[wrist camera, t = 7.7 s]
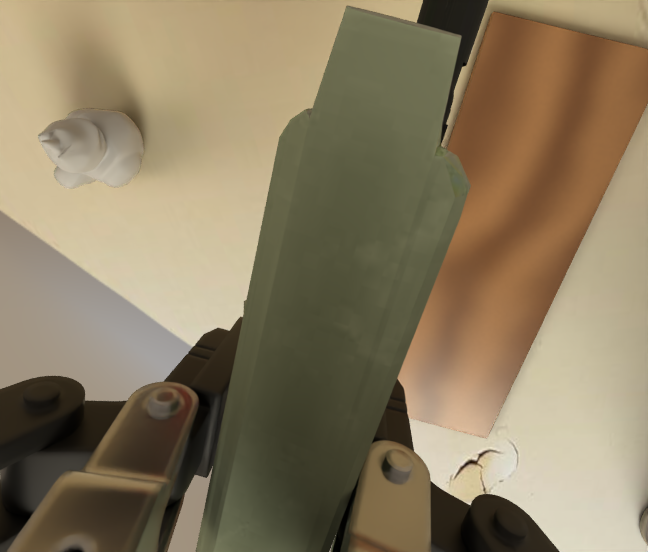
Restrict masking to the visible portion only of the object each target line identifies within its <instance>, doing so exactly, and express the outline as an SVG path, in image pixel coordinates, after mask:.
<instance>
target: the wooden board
mask: <svg viewBox="0 0 648 552" xmlns="http://www.w3.org/2000/svg"><path fill="white" fill-rule="evenodd" d="M647 104H648V49H645V48H641V47H637V46H633V45H629V44H625V43H621V42H617V41H613V40H609V39H605V38H600V37H596V36H592V35H588V34H584V33H580V32H576V31H572V30H568V29H564V28H560V27H556V26H551V25H547V24H543V23H539V22H535V21H531V20H527V19H523V18H519V17H515V16H511V15H507V14H502V13H498V12H493V13H492V14H491V16H490V19H489V22H488V25H487V28H486V31H485V34H484V37H483V40H482V43H481V46H480V49H479V52H478V55H477V58H476V61H475V64H474V67H473V70H472V73H471V76H470V79H469V82H468V86H467V89H466V92H465V95H464V98H463V101H462V104H461V107H460V110H459V113H458V116H457V119H456V122H455V125H454V128H453V131H452V134H451V137H450V140H449V143H448V146H447V150H448V151H450V152H452V153H453V154H455V155H457V156H458V157H459V160H460V162H461V164H462V166H463V169H464V171H465V173H466V176H467V178H468V180H469V182H470V185H471V187H470V190H469V192H468V194H467V198H466V201H465V204H464V208H463V211H462V214H461V217H460V220H459V223H458V225H457V228H456V230H455V233H454V235H453V238H452V240H451V243H450V245H449V248H448V250H447V253H446V256H445V258H444V261H443V263H442V266H441V268H440V271H439V273H438V276H437V278H436V281H435V284H434V286H433V289H432V291H431V294H430V296H429V299H428V301H427V304H426V306H425V309H424V311H423V314H422V317H421V319H420V322H419V324H418V327H417V329H416V332H415V334H414V337H413V339H412V342H411V345H410V347H409V350H408V352H407V355H406V357H405V360H404V362H403V365H402V367H401V370H400V373H399V375H398V378H397V379H398V380H399V382H400V383H401V385H402V386H403V387H404V392H405V398H406V402H405V403H406V404H407V414H408V417H409V418H411V419H415V420H419V421H422V422H426V423H430V424H434V425H438V426H441V427H445V428H449V429H453V430H456V431H460V432H464V433H468V434H471V435H475V436H479V437H483V438H487V437H488V435H489V433H490V431H491V429H492V427H493V425H494V422H495V420H496V418H497V416H498V414H499V412H500V410H501V408H502V406H503V404H504V402H505V400H506V397H507V395H508V393H509V391H510V389H511V387H512V385H513V383H514V381H515V379H516V377H517V375H518V372H519V370H520V368H521V366H522V364H523V362H524V360H525V358H526V356H527V354H528V352H529V350H530V347H531V345H532V343H533V341H534V339H535V337H536V335H537V333H538V331H539V329H540V327H541V325H542V322H543V320H544V318H545V316H546V314H547V312H548V310H549V308H550V306H551V304H552V302H553V300H554V297H555V295H556V293H557V291H558V289H559V287H560V285H561V283H562V281H563V279H564V277H565V275H566V272H567V270H568V268H569V266H570V264H571V262H572V260H573V258H574V256H575V254H576V252H577V250H578V247H579V245H580V243H581V241H582V239H583V237H584V235H585V233H586V231H587V229H588V227H589V225H590V222H591V220H592V218H593V216H594V214H595V212H596V210H597V208H598V206H599V204H600V202H601V200H602V197H603V195H604V193H605V191H606V189H607V187H608V185H609V183H610V181H611V179H612V177H613V174H614V172H615V170H616V168H617V166H618V164H619V162H620V160H621V158H622V156H623V154H624V152H625V149H626V147H627V145H628V143H629V141H630V139H631V137H632V135H633V133H634V131H635V129H636V127H637V124H638V122H639V120H640V118H641V116H642V114H643V112H644V110H645V108H646V106H647Z"/></svg>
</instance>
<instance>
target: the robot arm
mask: <svg viewBox="0 0 648 552" xmlns="http://www.w3.org/2000/svg"><path fill="white" fill-rule="evenodd" d="M242 320H243V317H240V318H239V319H238V320H237V322H236V323H235V324H234V326H233V327H232V328H231V330H230V331H228V330H224V329H221V328H217V329H214V330H212V331H210V332H208V333H206V334H204V335H203V336H202V337H201V338H200V340H199V341H198V342H197V343H196V345H195V346H194V347H193V348H192V349H191V350H190V351H189V353H188V354H187V355H186V356H185V357H184V358H183V359H182V361H181V362H180V363H179V364H178V365H177V366H176V368H175V369H174V370H173V371H172V372H171V373H170V375H169V376H168V377H167V378H166V379H165V381H164V382H157V383H152V384H148V385H145V386H143V387H141V388H140V389H138V390H136V391H135V392H134V393H133V394H132V395H131V396H130V398H129V399H128V400H127V401H115V402H114V401H85V390H84V388H83V386H82V385H81V384H80V383H79V382H77V381H75V380H73V379H71V378H67V377H61V376H44V377H37V378H32V379H29V380H26V381H22V382H20V383H17V384H14V385H11V386H8V387H6V388H3V389H0V552H167V551H168V548H169V544H170V541H171V538H172V535H173V532H174V529H175V526H176V523H177V519H178V516H179V514H180V510H181V507H182V504H183V500H184V495H185V492H186V490H187V489H188V487H189V485H190V483H191V481H192V479H193V477H194V475H199V476H203V477H206V478H207V477H208V475H209V473H210V471H211V468H212V466H213V464H214V459H215V454H216V449H217V444H218V439H219V434H220V429H221V424H222V419H223V414H224V409H225V404H226V400H227V395H228V390H229V385H230V380H231V375H232V370H233V365H234V360H235V355H236V350H237V345H238V340H239V335H240V330H241V325H242ZM405 402H406V398H405V392H404V387H403V386H402V385H401V383H400V382H399V380H398V379H397V380H396V383H395V385H394V388H393V390H392V393H391V395H390V398H389V400H388V403H387V406H386V408H385V411H384V413H383V416H382V418H381V421H380V423H379V426H378V428H377V431H376V434H375V436H374V439H373V441H372V444H371V446H370V449H369V451H368V454H367V456H366V459H365V461H364V464H363V467H362V469H361V472H360V474H359V477H358V479H357V482H356V484H355V487H354V489H353V492H352V495H351V497H350V500H349V502H348V505H347V507H346V510H345V512H344V515H343V517H342V520H341V523H340V525H339V528H338V530H337V533H336V536H335V539H334V542H333V544H332V548H331V552H559V550H558V549H557V548H556V547H555V546H554V544H553V543H552V542H551V541H550V540H549V538H548V537H547V536H546V535H545V534H544V532H543V531H542V530H541V529H540V528H539V526H538V525H537V524H536V523H535V522H534V520H533V519H532V518H531V517H530V516H529V515H528V514H527V513H526V512H525V511H523V510H522V509H521V508H520V507H518V506H517V505H515V504H514V503H512V502H511V501H509V500H507V499H505V498H502V497H500V496H496V495H492V494H483V495H479V496H477V497H476V498H475V499H474V500H473V501H472V503H471V505H468V504H467V503H465V502H463V501H461V500H459V499H457V498H456V497H454V496H452V495H450V494H448V493H447V492H445V491H443V490H442V489H440V488H439V487H437V486H436V485H435V484H434V483H432V482H431V481H430V473H429V470H428V468H427V466H426V464H425V463H424V461H423V460H422V459H421V458H420V457H419V456H418V455H417V454H416V453H415V452H414V448H413V442H412V436H411V430H410V423H409V417H408V414H407V404H406V403H405ZM640 531H641V535H642V537H643V539H644V541H645V542H646V544H647V545H648V507H647V508H646V510H645V511H644V513H643V515H642V518H641V522H640Z"/></svg>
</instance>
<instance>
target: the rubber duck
mask: <svg viewBox="0 0 648 552" xmlns="http://www.w3.org/2000/svg"><path fill="white" fill-rule="evenodd" d="M38 138H39V141H40V143H41V145H42V147H43V149H44V151H45V153H46V154H47V156H48V157H49V158H50V159H51V160H52V162H53V163H54V164H56V165H57V167H56V168H55V170H54V176H55V178H56V180H57V181H58V183H59V184H60V185H62V186H63V187H65V188H68V189H74V188H77V187H80V186H82V185H84V184H88V183H92V182H94V181H96V180H97V181H99V182H102V183H105V184H106V185H108V186H111V187H121V186H124V185H127V184H128V183H129V182H130V181H131V180H132V179H133V178H134V177H135V176H136V175H137V174H138V172H139V170H140V167H141V158H142V156H143V154H144V145H143V140H142V136H141V133H140V130H139V129H138V127H137V126H136V125H135V123H134V122H133V121H132V120H131V119H130V118H129V117H128V116H127V115H126V114H124V113H123V112H120V111H112V110H101V109H94V108H86V109H79V110H75V111H72V112H71V113H69V114H68V115H67V117H66V118H65V119H64V120H59V121H55V122H53V123H51V124H50V125H49V126H48V127H47V128H46V129H45V130H44V131H43V132H42V133H40V134H39V135H38Z"/></svg>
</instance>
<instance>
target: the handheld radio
mask: <svg viewBox="0 0 648 552" xmlns="http://www.w3.org/2000/svg"><path fill="white" fill-rule="evenodd" d="M488 1H489V0H423V3H422V7H421V10H420V13H419V17H418V20H417V23H415V22H411V21H407V20H403V19H400V18H396V17H392V16H388V15H384V14H380V13H377V12H373V11H368V10H364V9H360V8H355V7H351V6H347V7H346V10H345V13H344V16H343V19H342V22H341V25H340V28H339V31H338V34H337V37H336V40H335V43H334V46H333V49H332V52H331V55H330V58H329V61H328V64H327V67H326V70H325V73H324V76H323V79H322V82H321V85H320V88H319V91H318V94H317V97H316V100H315V103H314V106H313V108H312V109H306V110H304V111H303V112H301V113H300V114H298V115H297V116H295V117H294V118H292V119H291V120H290V121H289V123H288V125H287V126H286V128H285V129H284V131H283V133H282V134H281V136H280V137H279V142H278V147H277V152H276V157H275V162H274V167H273V172H272V177H271V182H270V187H269V192H268V197H267V202H266V207H265V212H264V217H263V221H262V226H261V231H260V236H259V241H258V246H257V251H256V256H255V261H254V266H253V271H252V276H251V281H250V286H249V291H248V296H247V300H245V301H244V315H243V320H242V325H241V330H240V335H239V340H238V345H237V350H236V355H235V360H234V365H233V370H232V375H231V380H230V385H229V390H228V395H227V400H226V404H225V409H224V414H223V419H222V424H221V429H220V434H219V439H218V444H217V449H216V454H215V459H214V464H213V469H212V474H211V479H210V484H209V489H208V494H207V498H206V503H205V509H204V513H203V518H202V523H201V528H200V533H199V538H198V543H197V548H196V552H329V550H330V548H331V545H332V543H333V540H334V538H335V535H336V533H337V530H338V528H339V525H340V523H341V520H342V517H343V515H344V512H345V510H346V507H347V505H348V502H349V500H350V497H351V495H352V492H353V489H354V487H355V484H356V482H357V479H358V477H359V474H360V472H361V469H362V467H363V464H364V461H365V459H366V456H367V454H368V451H369V449H370V446H371V444H372V441H373V439H374V436H375V434H376V431H377V428H378V426H379V423H380V421H381V418H382V416H383V413H384V411H385V408H386V406H387V403H388V400H389V398H390V395H391V393H392V390H393V388H394V385H395V383H396V380H397V378H398V375H399V373H400V370H401V367H402V365H403V362H404V360H405V357H406V355H407V352H408V350H409V347H410V345H411V342H412V339H413V337H414V334H415V332H416V329H417V327H418V324H419V322H420V319H421V317H422V314H423V311H424V309H425V306H426V304H427V301H428V299H429V296H430V294H431V291H432V289H433V286H434V284H435V281H436V278H437V276H438V273H439V271H440V268H441V266H442V263H443V261H444V258H445V256H446V253H447V250H448V248H449V245H450V243H451V240H452V238H453V235H454V233H455V230H456V228H457V225H458V223H459V220H460V217H461V214H462V211H463V208H464V204H465V201H466V198H467V194H468V192H469V190H470V187H471V185H470V182H469V180H468V178H467V176H466V173H465V171H464V169H463V166H462V164H461V162H460V160H459V157H458V156H457V155H455V154H453V153H452V152H450V151H448V150H447V149H445V148H443V147H442V146H441V143H442V140H443V138H444V135H445V132H446V129H447V126H448V125H446V122H447V119H448V117H449V114H450V111H451V109H450V108H451V105H452V102H453V97H454V89H455V86H456V83H457V80H458V77H459V74H460V71H461V68H462V67H463V66H466V65H467V62H468V59H469V56H470V53H471V50H472V47H473V44H474V41H475V39H476V36H477V33H478V30H479V27H480V24H481V21H482V18H483V15H484V13H485V10H486V7H487V4H488Z"/></svg>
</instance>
